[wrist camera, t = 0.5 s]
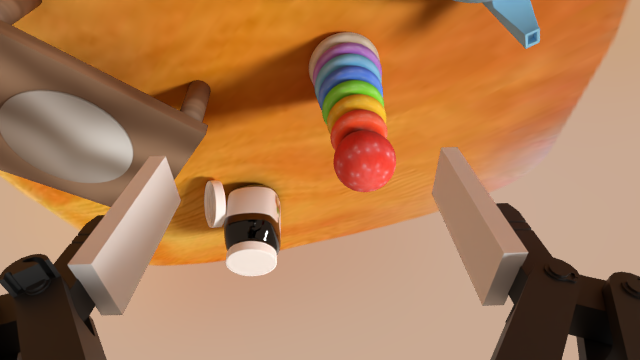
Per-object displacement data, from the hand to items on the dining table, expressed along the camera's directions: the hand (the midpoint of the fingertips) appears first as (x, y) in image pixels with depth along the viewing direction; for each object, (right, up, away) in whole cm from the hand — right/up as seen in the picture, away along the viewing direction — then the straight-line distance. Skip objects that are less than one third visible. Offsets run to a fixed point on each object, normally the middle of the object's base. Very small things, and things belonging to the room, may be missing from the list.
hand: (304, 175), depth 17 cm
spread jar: (-11, -3, +37) cm, 39 cm away
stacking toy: (+3, +13, +23) cm, 26 cm away
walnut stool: (-24, +10, +23) cm, 34 cm away
